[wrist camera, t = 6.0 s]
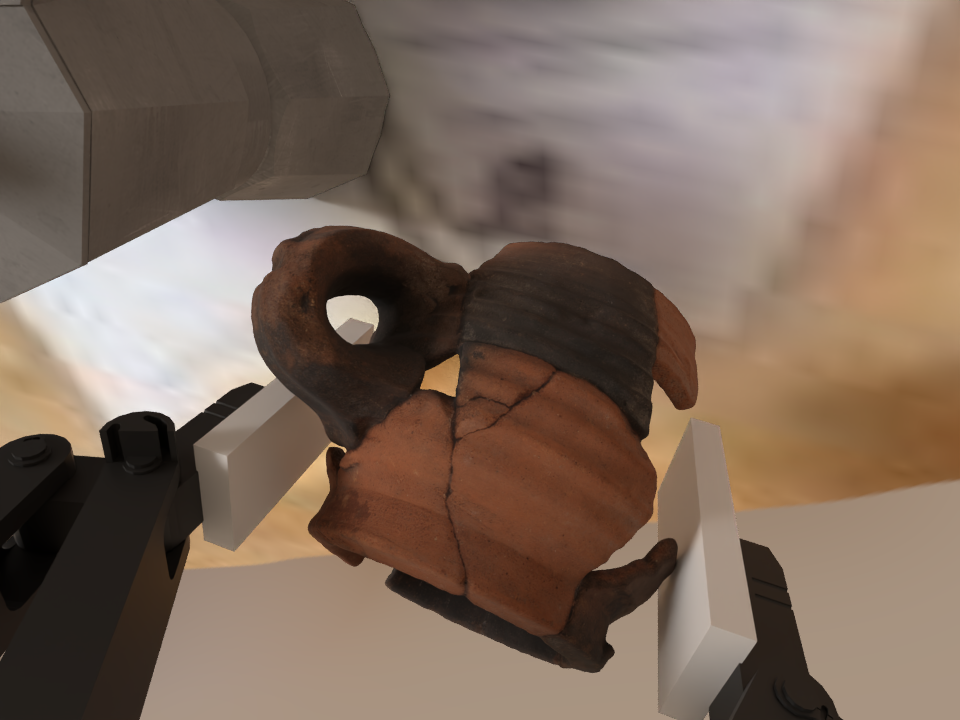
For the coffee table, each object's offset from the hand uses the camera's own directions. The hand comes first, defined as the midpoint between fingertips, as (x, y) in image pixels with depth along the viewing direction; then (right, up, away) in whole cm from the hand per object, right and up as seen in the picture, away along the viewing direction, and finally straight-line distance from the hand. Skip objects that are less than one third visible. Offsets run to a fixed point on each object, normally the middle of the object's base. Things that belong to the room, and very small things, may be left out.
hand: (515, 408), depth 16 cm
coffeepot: (-10, +13, +10) cm, 19 cm away
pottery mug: (0, +1, 0) cm, 1 cm away
